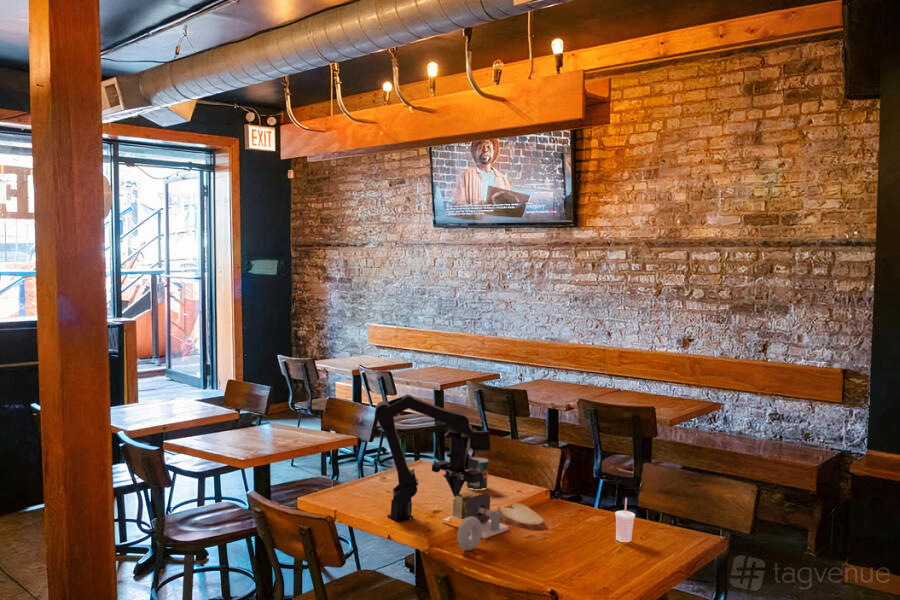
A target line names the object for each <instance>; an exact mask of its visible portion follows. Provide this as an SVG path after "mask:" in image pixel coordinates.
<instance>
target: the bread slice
mask: <svg viewBox="0 0 900 600" xmlns="http://www.w3.org/2000/svg"><path fill="white" fill-rule="evenodd" d="M512 504H513V505H512V507H511V508H503V507H504V506H498V507H497V509H498V512H500V520H502V521H504V523H507V524H510V525H512V526H515V527H517V528H521V529H526V530H535V531H539V530H540V531H541V530H543V531H544V530H545V529H547V526H546V522H545V519H543V517H542V516H541V515H540V514H538V513H537V512H536V511H535V510H533V509H531V508H530V507H528V506H526V505H525V504H523V503H521V502H515V503H512Z"/></svg>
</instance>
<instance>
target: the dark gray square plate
mask: <svg viewBox="0 0 900 600" xmlns="http://www.w3.org/2000/svg"><path fill="white" fill-rule="evenodd" d="M478 507H481V508H484V509H488V510H490V511H491V494H488V493H485V492H484V493H482V494H481V493H480V494H477V496H474V497H471V498H468V500H467V517H471V516H474V517H476V518H478V520H479V521H480V522H481V523H483V522H486V521H489V519H490V516H486V515H484V514H481V513H478Z"/></svg>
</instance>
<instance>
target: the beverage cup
mask: <svg viewBox="0 0 900 600" xmlns="http://www.w3.org/2000/svg"><path fill="white" fill-rule="evenodd" d="M624 500H625V501H624V510H617V511H615V515H614V516H615V541H616V540H618V541H620V542H630V541H631V542H632V536H633V529H634V521H635V517H636V514H635V513H634V512H632V511H629V510H627V504H628V497H625V499H624Z"/></svg>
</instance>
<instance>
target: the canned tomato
mask: <svg viewBox="0 0 900 600" xmlns="http://www.w3.org/2000/svg"><path fill="white" fill-rule="evenodd" d="M470 458H471V459H474V460H478V461H479V462H478V466H477V469H476V470H477V471H480V472H482V473H483V474H484V479H483V481H480V482H476V483H469V482H466V486H467V487H468V488H473V489H482V488H486V487H487V488H488V475H489V473H488V472H489V459H488V458H485V457H482V456H481V457H480V456H470ZM471 470H475V469H474V468H470V469H469V470H466V471H471Z"/></svg>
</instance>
